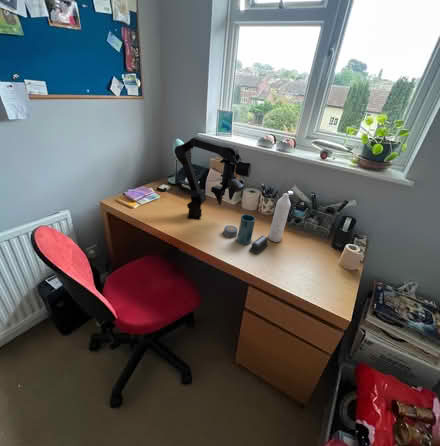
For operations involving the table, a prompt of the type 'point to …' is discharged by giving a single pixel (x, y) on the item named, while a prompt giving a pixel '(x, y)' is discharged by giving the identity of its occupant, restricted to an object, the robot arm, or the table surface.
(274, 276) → the table surface
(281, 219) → the water bottle
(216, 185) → the robot arm
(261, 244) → the stapler
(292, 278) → the table surface
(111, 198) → the table surface
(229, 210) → the table surface
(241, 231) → the pen pot
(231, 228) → the tape roll
